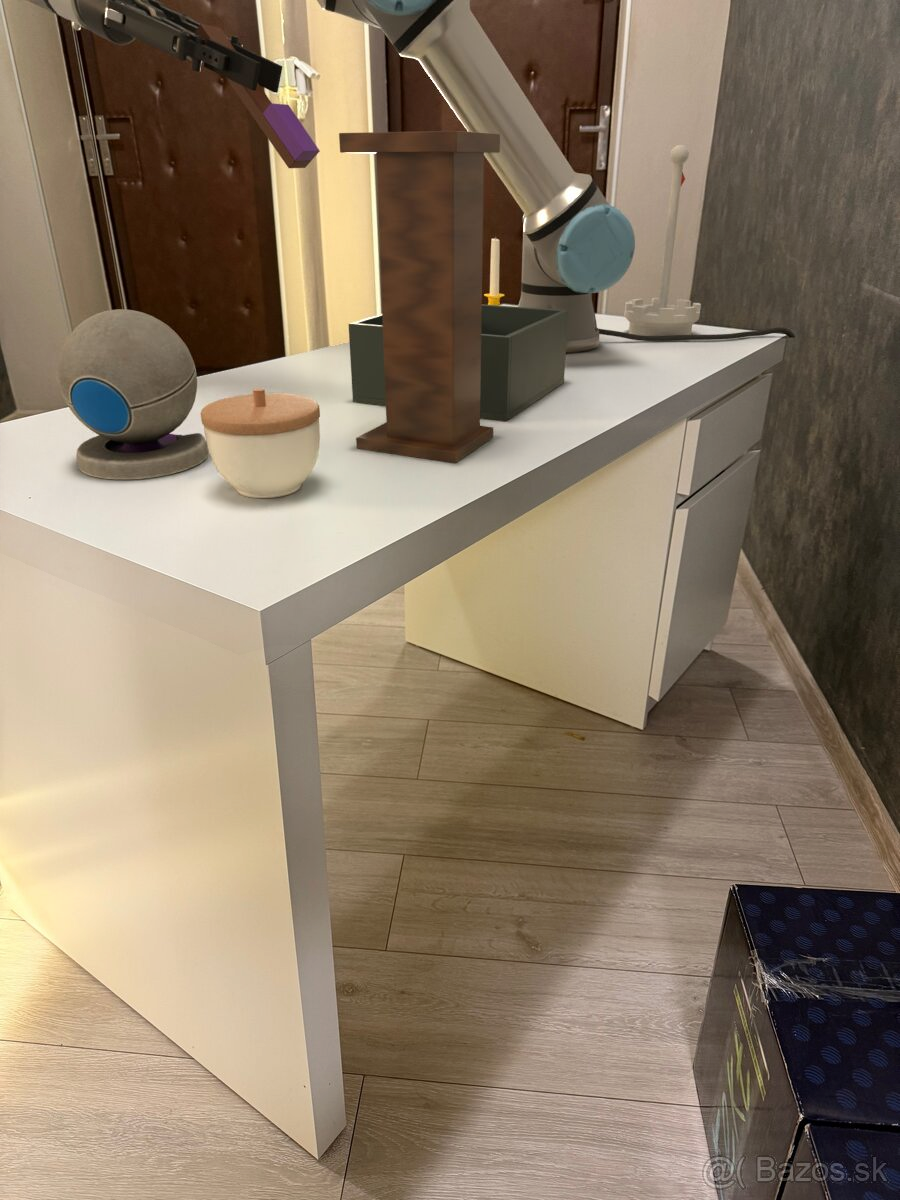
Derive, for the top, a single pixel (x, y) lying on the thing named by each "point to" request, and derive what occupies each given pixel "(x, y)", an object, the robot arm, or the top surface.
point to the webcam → (130, 395)
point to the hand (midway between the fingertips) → (267, 78)
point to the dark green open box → (508, 358)
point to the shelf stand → (429, 288)
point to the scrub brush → (270, 115)
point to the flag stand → (665, 277)
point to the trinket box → (263, 441)
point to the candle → (494, 274)
